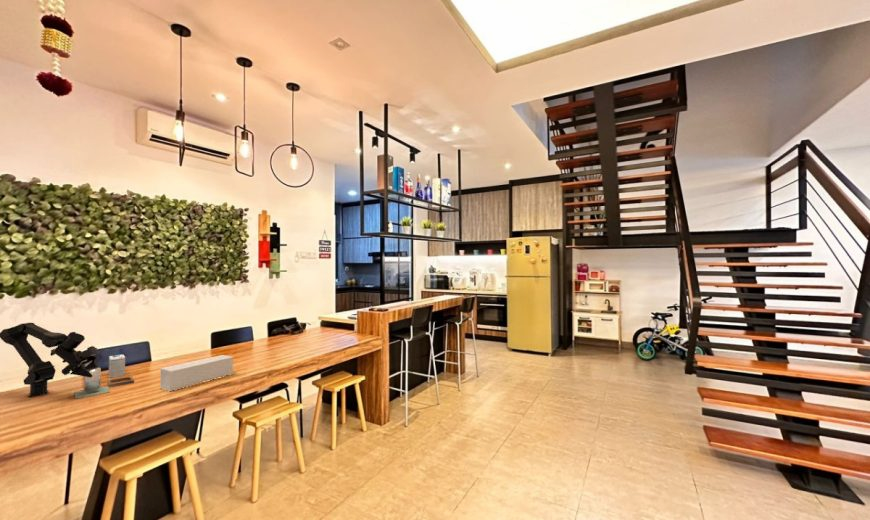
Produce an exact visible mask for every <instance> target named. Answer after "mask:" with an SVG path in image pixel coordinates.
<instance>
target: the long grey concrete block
mask: <svg viewBox="0 0 870 520" xmlns="http://www.w3.org/2000/svg"><path fill="white" fill-rule="evenodd" d="M233 373H234V357H233V356H230V355H227V354H226V355H224V354H221V355H216V356H211V357H207V358H202V359H198V360H197V359H196V360H194V361H188V362H183V363H178V364H174V365H171V366H165V367H160V376H159V377H160V384H159V385H160V389H161V388H163V389H162V390H164V389H166V390H169V391H172V390H175V391H177V390H176V389H179V390H181V389H180V388H183V387H186V388H188V387H187V386H190V385H193V384H197V383H200V382H203V381H207V380H211V379H214V378H218V377H222V376H226V375H230V374H233ZM230 376H231V375H230ZM197 385H198V384H197ZM190 387H191V386H190ZM183 389H184V388H183ZM166 390H165V391H166ZM169 391H168V392H169ZM172 392H173V391H172Z"/></svg>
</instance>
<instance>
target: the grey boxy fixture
mask: <svg viewBox="0 0 870 520" xmlns="http://www.w3.org/2000/svg"><path fill="white" fill-rule="evenodd" d="M125 374H126V356H125V355H124V354H123V353H122V354H115V355H110V356H109V355H108V377H109V378H110V379H111V378H116V377H123V376H124V377H125V376H126V375H125Z"/></svg>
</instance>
